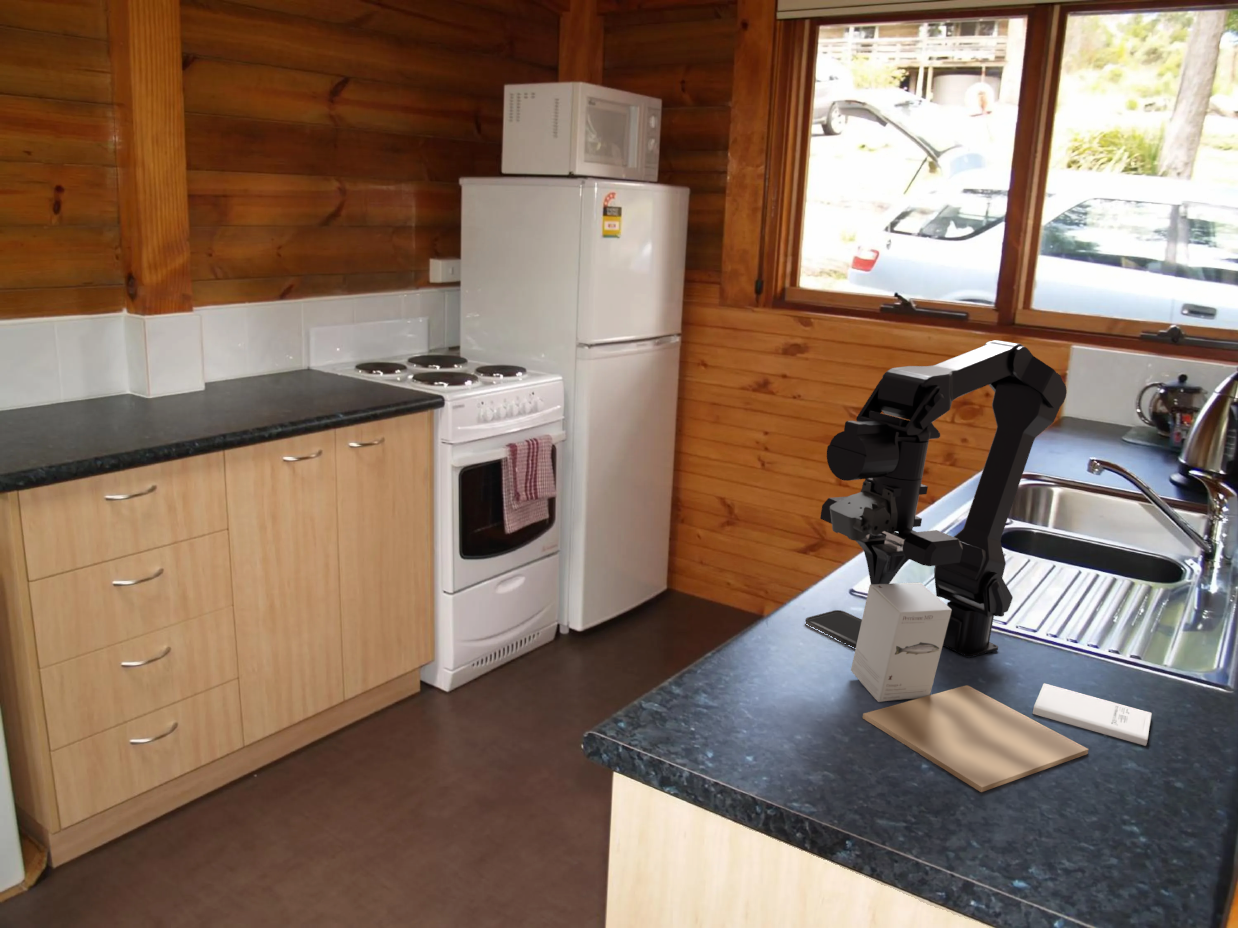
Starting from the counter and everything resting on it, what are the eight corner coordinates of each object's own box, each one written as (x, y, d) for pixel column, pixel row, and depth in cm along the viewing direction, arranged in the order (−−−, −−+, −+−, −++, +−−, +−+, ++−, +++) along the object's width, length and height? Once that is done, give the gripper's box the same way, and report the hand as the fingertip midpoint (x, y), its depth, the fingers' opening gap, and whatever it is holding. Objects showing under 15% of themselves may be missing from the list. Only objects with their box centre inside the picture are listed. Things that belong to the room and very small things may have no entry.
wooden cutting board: (966, 689, 128) (967, 684, 128) (1087, 753, 114) (1088, 749, 114) (862, 718, 119) (863, 713, 118) (981, 792, 105) (982, 786, 105)
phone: (885, 659, 134) (802, 618, 145) (884, 667, 134) (801, 625, 145) (923, 647, 138) (839, 608, 150) (922, 654, 138) (838, 615, 150)
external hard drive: (1041, 693, 130) (1149, 722, 124) (1031, 718, 123) (1145, 750, 117) (1044, 681, 130) (1152, 710, 124) (1033, 705, 123) (1148, 737, 117)
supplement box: (877, 704, 123) (898, 611, 118) (849, 670, 129) (867, 581, 125) (931, 699, 125) (953, 609, 120) (900, 666, 131) (920, 579, 127)
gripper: (796, 456, 127) (779, 574, 131) (907, 500, 111) (884, 631, 115) (862, 453, 133) (843, 566, 136) (976, 494, 117) (951, 620, 121)
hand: (877, 594), depth 127 cm, fingers closed
